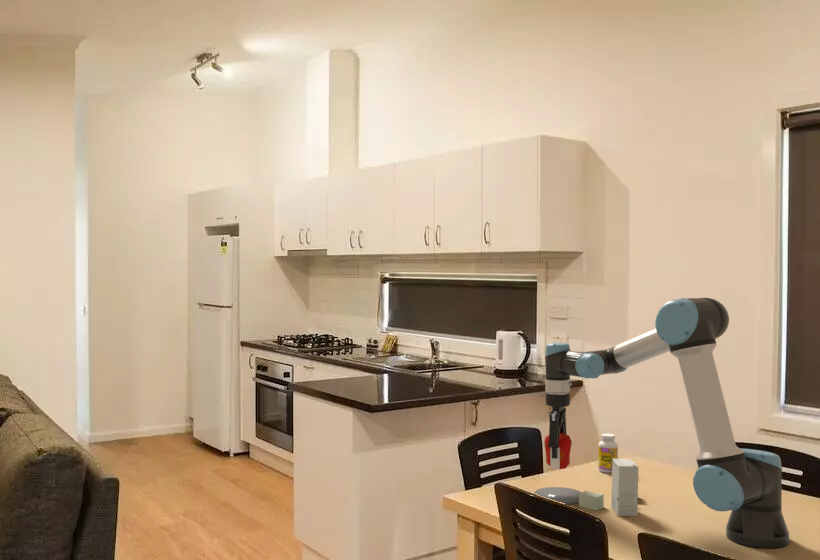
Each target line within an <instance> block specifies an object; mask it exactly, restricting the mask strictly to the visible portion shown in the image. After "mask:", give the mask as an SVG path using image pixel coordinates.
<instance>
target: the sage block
mask: <svg viewBox="0 0 820 560" xmlns="http://www.w3.org/2000/svg"><path fill="white" fill-rule="evenodd" d="M580 492H581V493H579V503H578V507H580V508H584V509H589V510H593V511H598V510H599V511H600V509H603V508H604V501H605V500H604V498H605V497H604V493H598V492H593V491H588V490H584V491H580Z"/></svg>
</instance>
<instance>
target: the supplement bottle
mask: <svg viewBox="0 0 820 560" xmlns="http://www.w3.org/2000/svg"><path fill="white" fill-rule="evenodd" d="M600 437H601V441H599V442H598V445H597V446H598V453H597V454H598V458H597V459H598V460H597V461H598V464H597V465H598V471H600V472H601V473H605V474H612V465H613V459H619V450H618V449H619V445H618V443H617V442H616V441H615V439H616V435H615V434H613V433H602V434H601V436H600Z"/></svg>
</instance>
